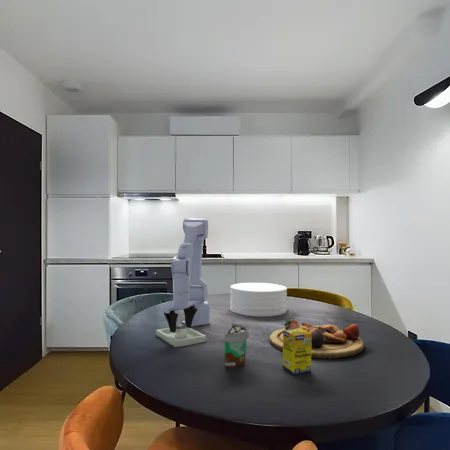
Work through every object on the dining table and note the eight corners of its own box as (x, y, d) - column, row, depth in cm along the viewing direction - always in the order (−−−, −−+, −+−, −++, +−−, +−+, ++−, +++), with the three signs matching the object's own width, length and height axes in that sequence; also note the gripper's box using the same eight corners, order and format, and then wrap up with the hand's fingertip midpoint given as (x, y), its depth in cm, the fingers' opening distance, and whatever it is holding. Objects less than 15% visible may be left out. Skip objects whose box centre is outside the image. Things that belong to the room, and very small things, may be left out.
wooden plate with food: (362, 336, 133) (361, 314, 133) (366, 365, 103) (366, 337, 103) (278, 329, 143) (278, 308, 144) (260, 353, 113) (260, 328, 114)
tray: (185, 330, 136) (185, 325, 136) (206, 341, 123) (206, 335, 123) (156, 335, 130) (156, 329, 130) (175, 347, 116) (175, 341, 116)
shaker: (180, 334, 130) (180, 323, 130) (189, 336, 127) (189, 325, 127) (171, 337, 126) (172, 326, 126) (180, 339, 123) (180, 328, 123)
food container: (245, 372, 97) (246, 336, 97) (223, 370, 98) (224, 334, 98) (251, 356, 109) (251, 324, 109) (231, 355, 110) (232, 323, 110)
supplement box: (294, 375, 95) (294, 335, 95) (282, 367, 100) (282, 329, 101) (312, 372, 97) (312, 333, 98) (299, 364, 103) (299, 327, 103)
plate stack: (295, 308, 179) (295, 285, 179) (272, 319, 155) (272, 293, 155) (247, 301, 194) (247, 281, 194) (219, 311, 170) (219, 287, 170)
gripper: (187, 288, 135) (187, 323, 135) (158, 293, 123) (157, 331, 123) (201, 290, 130) (200, 327, 130) (171, 295, 119) (171, 335, 119)
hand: (180, 329), depth 126 cm, fingers open, 7 cm apart
